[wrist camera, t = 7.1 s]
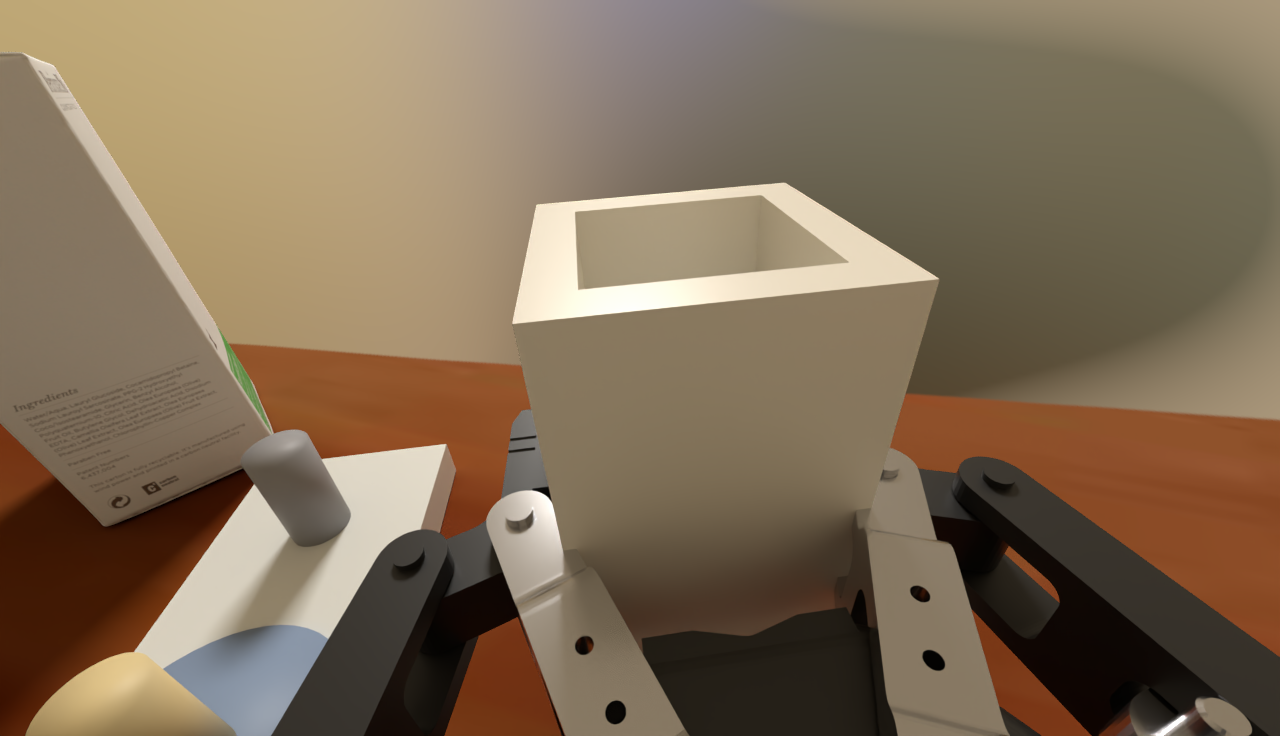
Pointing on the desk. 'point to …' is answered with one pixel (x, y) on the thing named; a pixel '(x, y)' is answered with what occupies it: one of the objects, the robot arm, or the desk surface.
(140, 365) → the skincare box
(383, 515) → the pin board
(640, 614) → the sleeve
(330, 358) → the desk surface
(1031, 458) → the desk surface
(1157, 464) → the desk surface
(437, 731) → the robot arm
